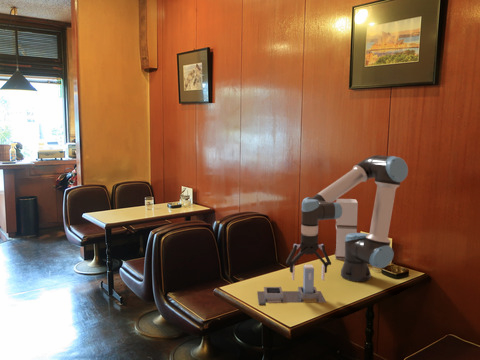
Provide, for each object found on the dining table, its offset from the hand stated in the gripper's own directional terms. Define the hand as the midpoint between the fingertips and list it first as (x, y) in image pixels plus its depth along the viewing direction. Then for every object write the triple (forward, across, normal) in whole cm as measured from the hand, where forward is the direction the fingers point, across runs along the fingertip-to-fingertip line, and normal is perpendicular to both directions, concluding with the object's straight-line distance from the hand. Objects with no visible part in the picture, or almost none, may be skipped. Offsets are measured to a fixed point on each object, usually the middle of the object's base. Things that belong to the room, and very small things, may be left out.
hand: (307, 279), depth 176 cm
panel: (+9, +8, 0) cm, 12 cm away
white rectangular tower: (+9, -33, -58) cm, 68 cm away
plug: (+8, 0, 0) cm, 8 cm away
